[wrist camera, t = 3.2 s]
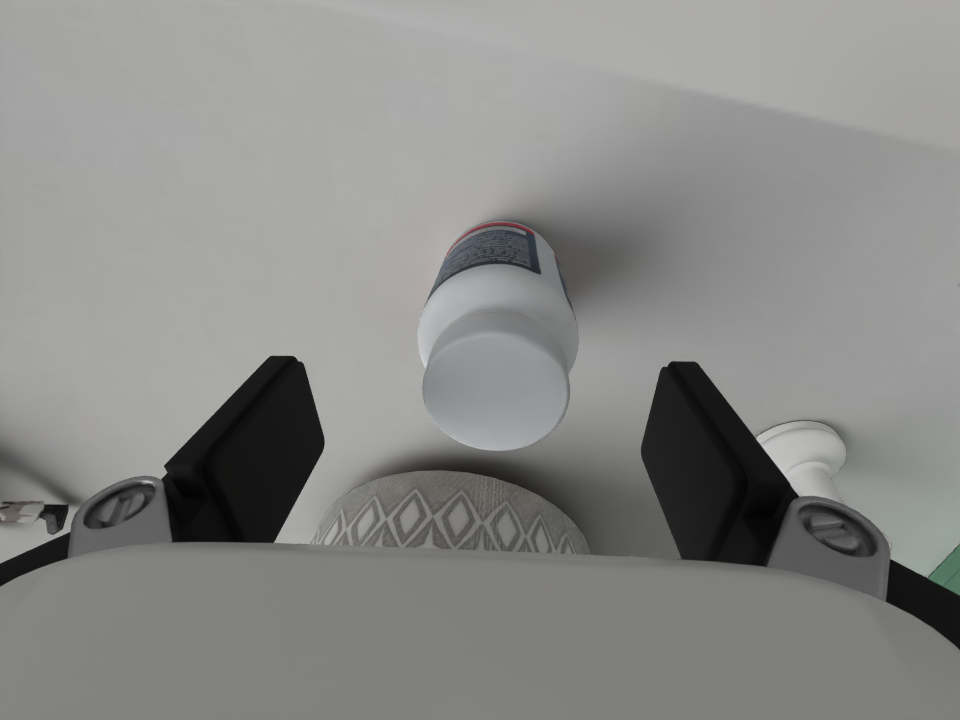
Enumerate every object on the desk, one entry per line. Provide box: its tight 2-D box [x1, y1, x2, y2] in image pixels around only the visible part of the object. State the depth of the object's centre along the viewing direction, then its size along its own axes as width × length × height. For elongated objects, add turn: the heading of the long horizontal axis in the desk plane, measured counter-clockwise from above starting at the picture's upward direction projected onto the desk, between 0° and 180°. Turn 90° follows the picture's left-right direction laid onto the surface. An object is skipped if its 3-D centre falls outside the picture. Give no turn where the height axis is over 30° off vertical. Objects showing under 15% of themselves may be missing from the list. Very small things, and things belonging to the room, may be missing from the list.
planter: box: [310, 470, 591, 555], centre depth 23 cm, size 19×19×14 cm
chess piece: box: [756, 421, 892, 551], centre depth 18 cm, size 5×5×10 cm
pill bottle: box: [418, 221, 578, 451], centre depth 15 cm, size 5×5×9 cm
